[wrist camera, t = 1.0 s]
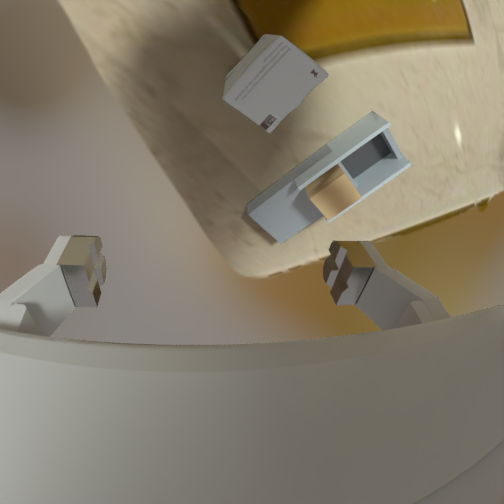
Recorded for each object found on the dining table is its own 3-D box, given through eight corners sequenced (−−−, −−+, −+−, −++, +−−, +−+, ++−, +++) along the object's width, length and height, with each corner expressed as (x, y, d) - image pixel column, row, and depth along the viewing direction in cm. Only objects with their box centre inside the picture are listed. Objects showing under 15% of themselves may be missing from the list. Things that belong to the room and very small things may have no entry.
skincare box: (264, 33, 29) (281, 27, 18) (298, 61, 32) (333, 73, 21) (223, 78, 33) (217, 98, 22) (258, 103, 36) (271, 137, 25)
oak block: (335, 161, 39) (344, 173, 36) (352, 184, 42) (361, 197, 39) (303, 184, 42) (309, 198, 39) (321, 205, 44) (328, 220, 41)
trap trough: (372, 111, 37) (389, 122, 33) (395, 150, 41) (411, 165, 37) (247, 204, 47) (248, 224, 43) (278, 233, 51) (282, 254, 47)
